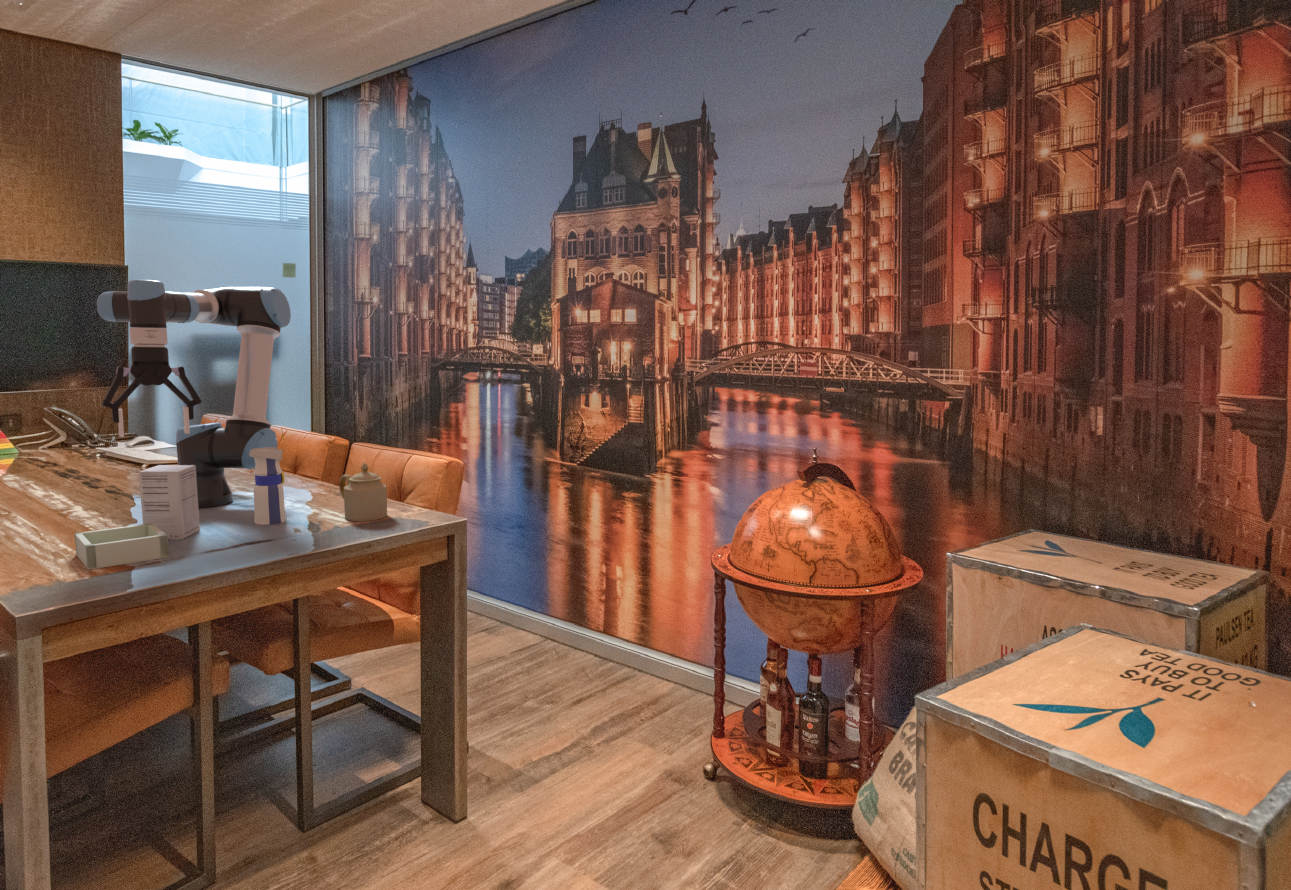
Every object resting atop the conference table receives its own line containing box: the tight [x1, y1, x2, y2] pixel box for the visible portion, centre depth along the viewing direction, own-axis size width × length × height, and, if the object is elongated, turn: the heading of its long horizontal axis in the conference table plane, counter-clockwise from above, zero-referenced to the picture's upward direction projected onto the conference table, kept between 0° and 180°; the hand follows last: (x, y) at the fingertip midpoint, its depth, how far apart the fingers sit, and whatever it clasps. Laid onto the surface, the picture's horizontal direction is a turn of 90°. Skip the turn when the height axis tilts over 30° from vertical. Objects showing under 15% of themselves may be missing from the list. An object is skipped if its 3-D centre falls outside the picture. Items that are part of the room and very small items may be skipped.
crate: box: [74, 523, 170, 570], centre depth 179 cm, size 15×15×5 cm
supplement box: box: [138, 464, 201, 540], centre depth 197 cm, size 10×9×17 cm
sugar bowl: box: [338, 462, 388, 522], centre depth 219 cm, size 15×11×15 cm
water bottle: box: [249, 427, 287, 526], centre depth 212 cm, size 8×9×25 cm
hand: (155, 435), depth 194 cm, fingers open, 13 cm apart
